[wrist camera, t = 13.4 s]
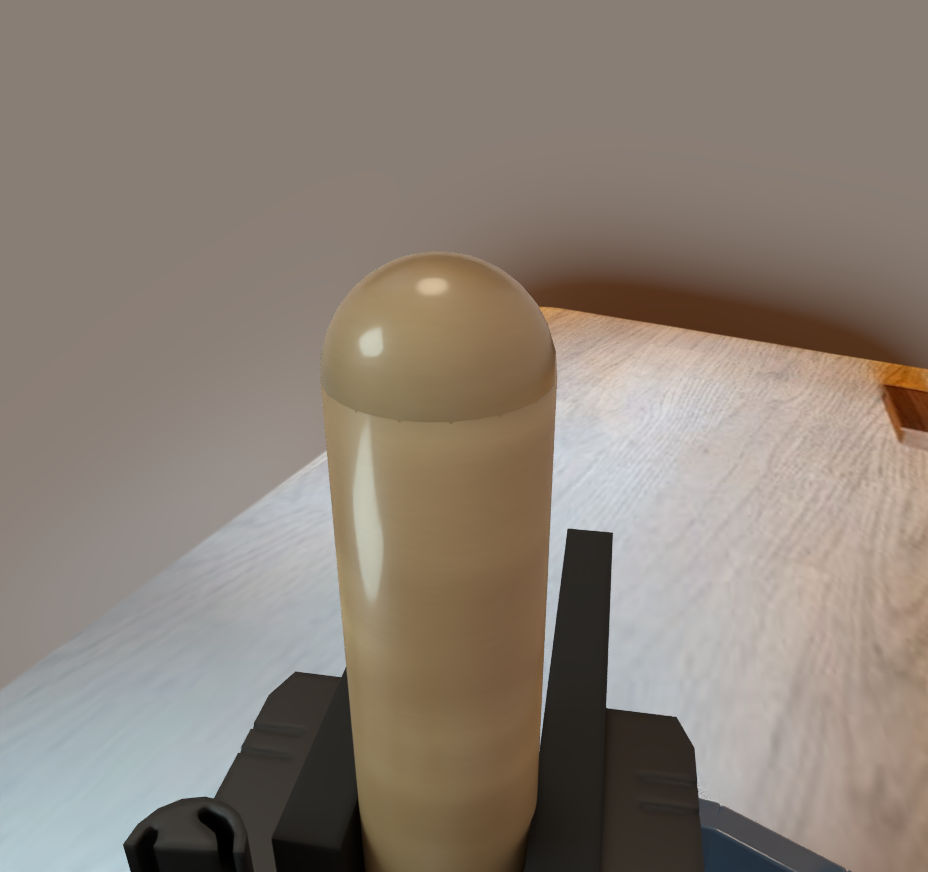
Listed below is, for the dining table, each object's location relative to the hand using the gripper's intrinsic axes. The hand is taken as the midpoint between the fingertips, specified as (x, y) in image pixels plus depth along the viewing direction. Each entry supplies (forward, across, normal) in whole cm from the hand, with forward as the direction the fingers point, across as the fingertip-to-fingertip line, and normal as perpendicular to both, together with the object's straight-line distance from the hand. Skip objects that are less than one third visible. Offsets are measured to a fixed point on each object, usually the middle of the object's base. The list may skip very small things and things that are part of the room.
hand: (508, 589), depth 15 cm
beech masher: (-6, 0, -10) cm, 12 cm away
